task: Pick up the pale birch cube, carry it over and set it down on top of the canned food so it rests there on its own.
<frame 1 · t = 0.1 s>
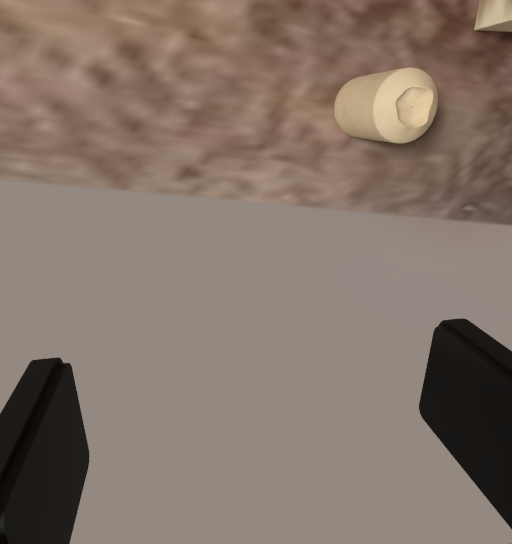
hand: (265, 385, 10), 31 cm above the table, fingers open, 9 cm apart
candle: (358, 107, 39), on the table
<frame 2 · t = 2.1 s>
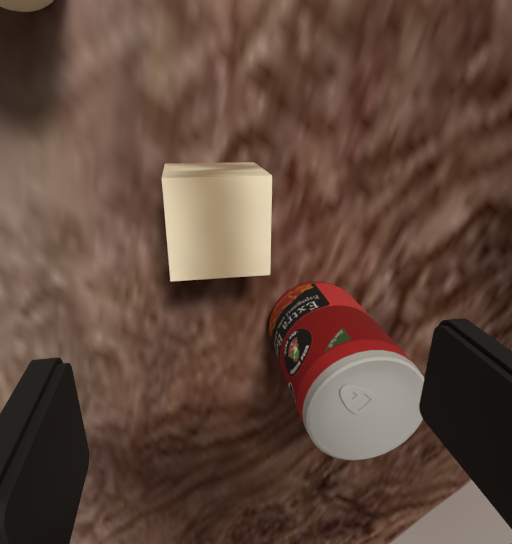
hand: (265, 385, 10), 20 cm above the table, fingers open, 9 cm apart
canned food: (311, 319, 33), on the table
birch block: (211, 206, 28), on the table
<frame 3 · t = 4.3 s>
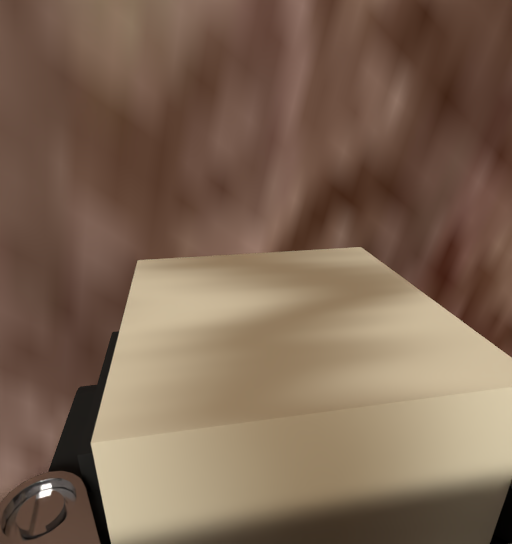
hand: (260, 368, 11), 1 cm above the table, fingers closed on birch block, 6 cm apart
birch block: (254, 349, 12), on the table, touching gripper
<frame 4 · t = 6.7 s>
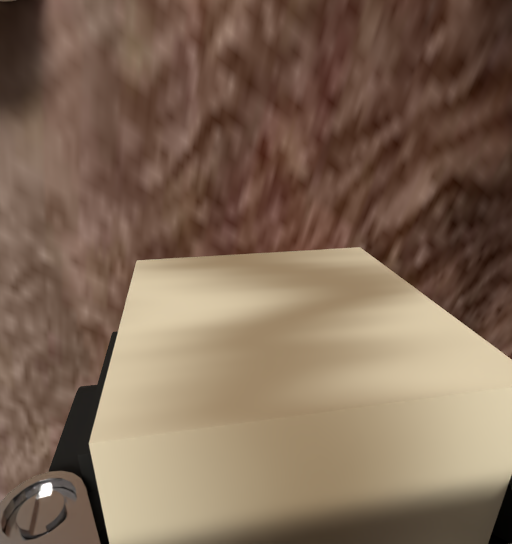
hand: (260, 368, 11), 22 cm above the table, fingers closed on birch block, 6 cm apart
birch block: (253, 349, 12), point 21 cm above the table, touching gripper
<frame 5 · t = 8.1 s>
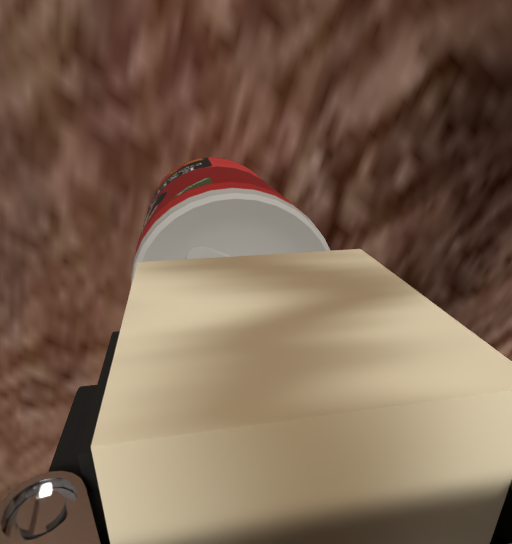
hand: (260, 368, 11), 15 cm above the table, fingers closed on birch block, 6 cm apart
canned food: (214, 219, 25), on the table
birch block: (254, 351, 12), point 14 cm above the table, touching gripper
when the fingers open (12 cm above the table, at t = 9.3 s): birch block stays where it is, resting on canned food.
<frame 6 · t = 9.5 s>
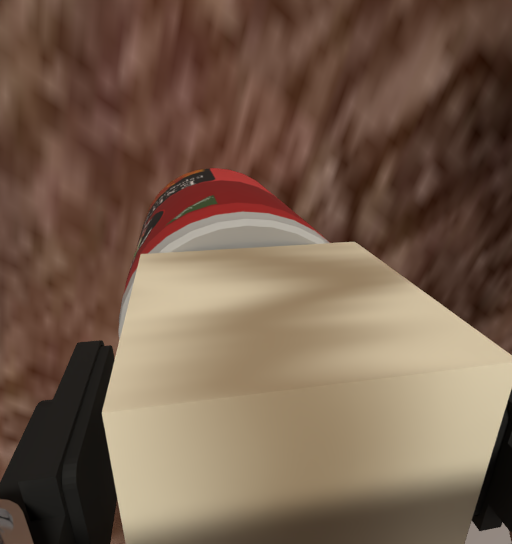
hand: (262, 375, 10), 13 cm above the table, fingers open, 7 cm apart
canned food: (216, 236, 22), on the table, touching birch block
birch block: (252, 341, 12), point 11 cm above the table, touching canned food
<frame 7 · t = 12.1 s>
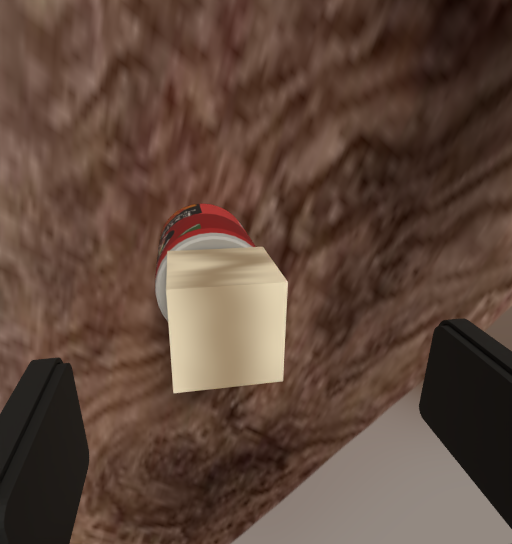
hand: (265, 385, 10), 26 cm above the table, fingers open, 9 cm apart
canned food: (203, 243, 36), on the table, touching birch block
birch block: (217, 292, 26), point 11 cm above the table, touching canned food
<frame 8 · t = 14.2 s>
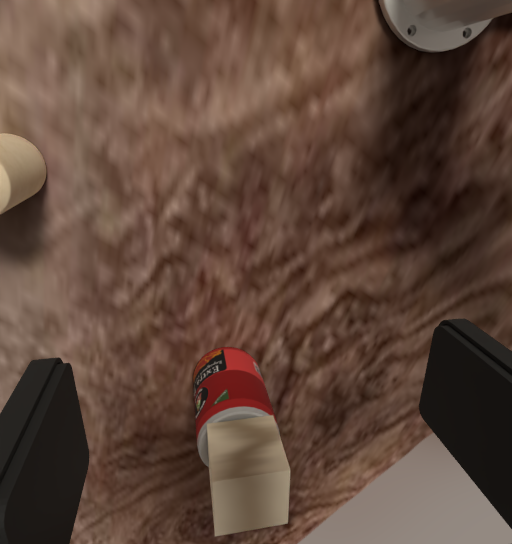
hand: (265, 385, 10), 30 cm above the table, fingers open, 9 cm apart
candle: (13, 166, 34), on the table
canned food: (226, 372, 47), on the table, touching birch block
birch block: (240, 444, 36), point 11 cm above the table, touching canned food
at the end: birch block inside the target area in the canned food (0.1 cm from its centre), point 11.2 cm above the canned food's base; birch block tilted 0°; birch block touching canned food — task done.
